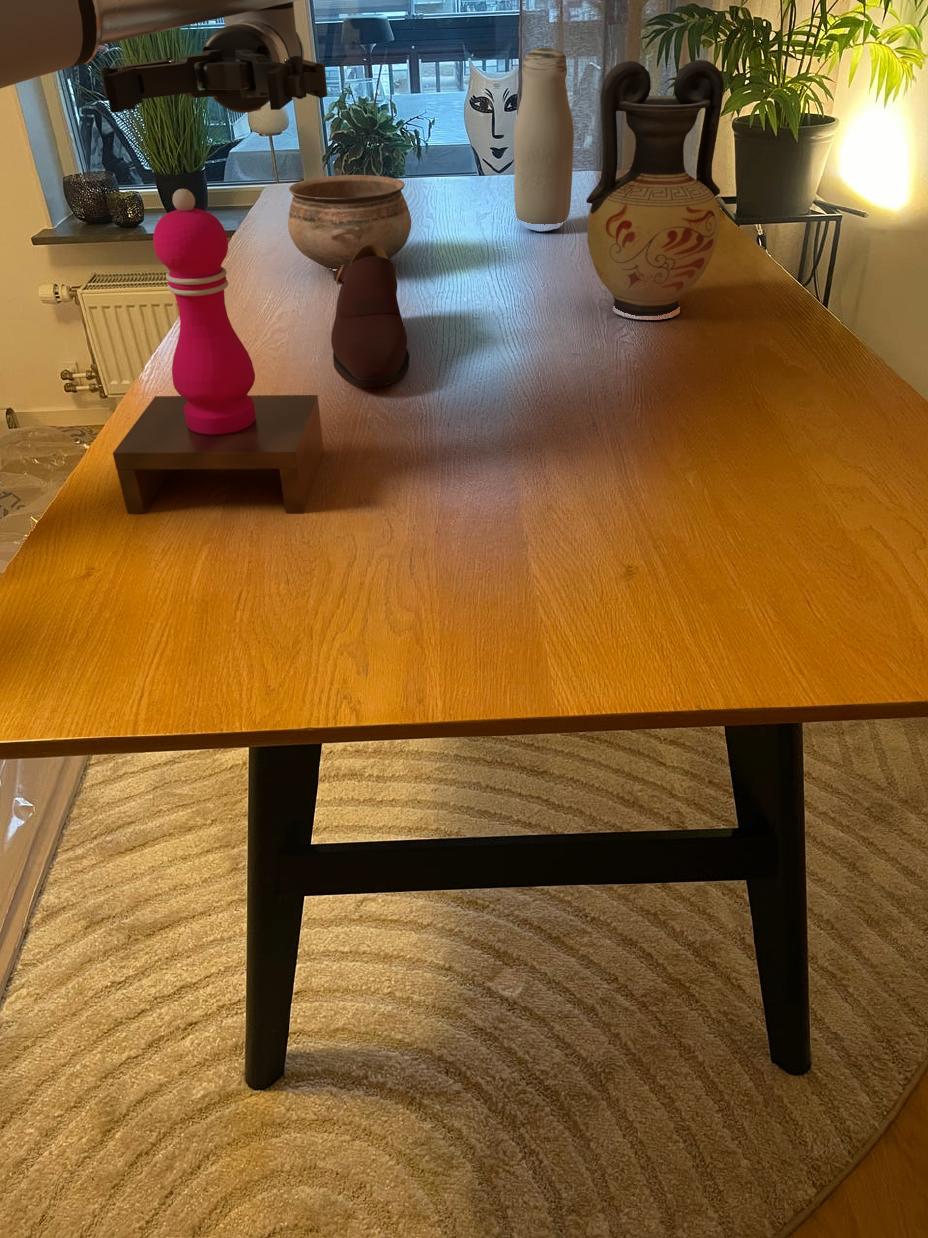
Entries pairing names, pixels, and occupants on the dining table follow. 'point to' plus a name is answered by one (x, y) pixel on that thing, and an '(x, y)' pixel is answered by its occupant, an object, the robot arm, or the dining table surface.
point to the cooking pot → (347, 217)
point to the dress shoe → (369, 321)
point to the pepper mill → (204, 321)
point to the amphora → (655, 189)
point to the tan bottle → (543, 140)
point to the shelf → (222, 447)
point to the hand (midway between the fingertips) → (192, 92)
